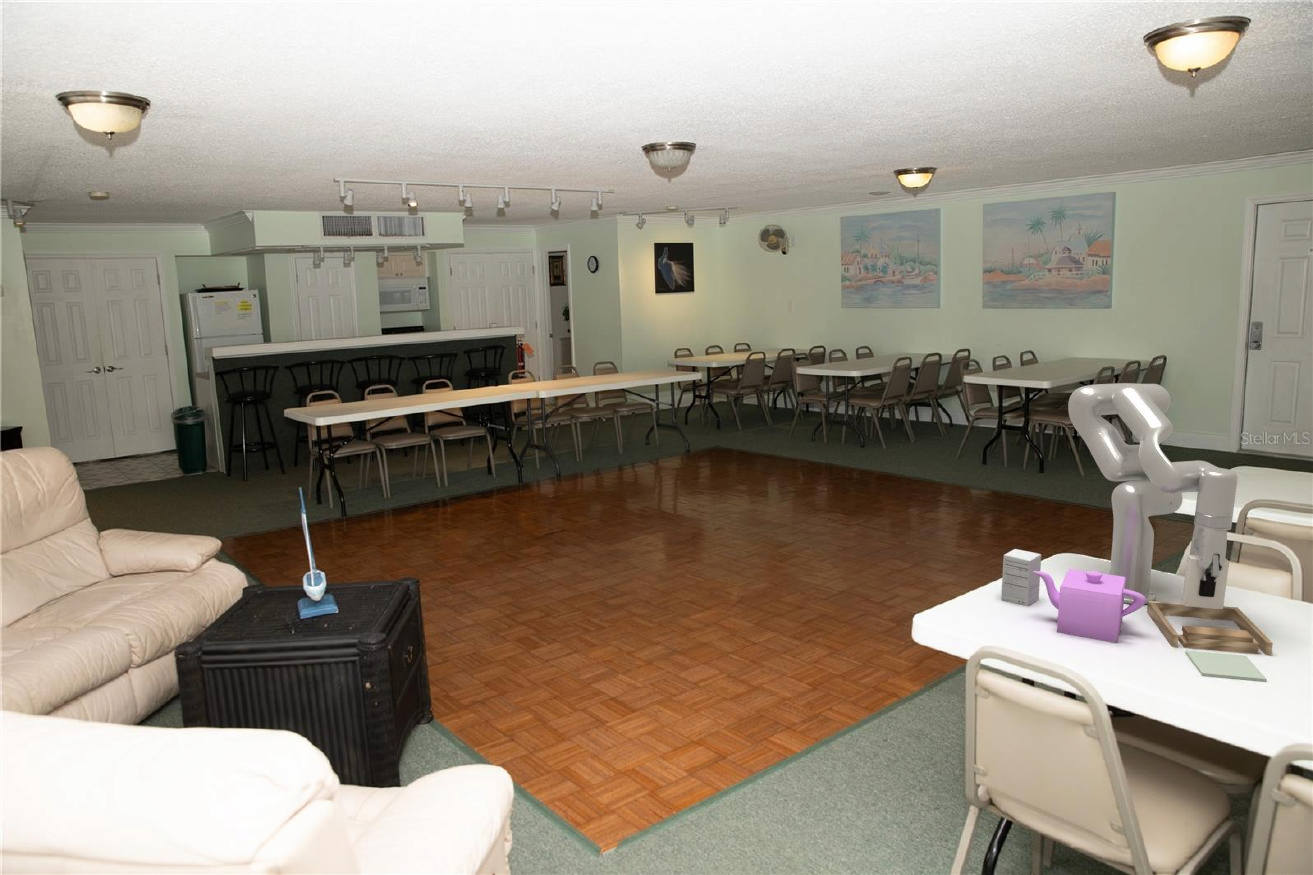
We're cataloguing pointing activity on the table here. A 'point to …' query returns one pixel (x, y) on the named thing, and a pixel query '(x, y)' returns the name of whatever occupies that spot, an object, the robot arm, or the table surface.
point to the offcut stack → (1218, 639)
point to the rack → (1227, 613)
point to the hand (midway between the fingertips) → (1203, 592)
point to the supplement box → (1021, 577)
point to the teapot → (1091, 603)
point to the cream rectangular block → (1193, 583)
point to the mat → (1225, 666)
